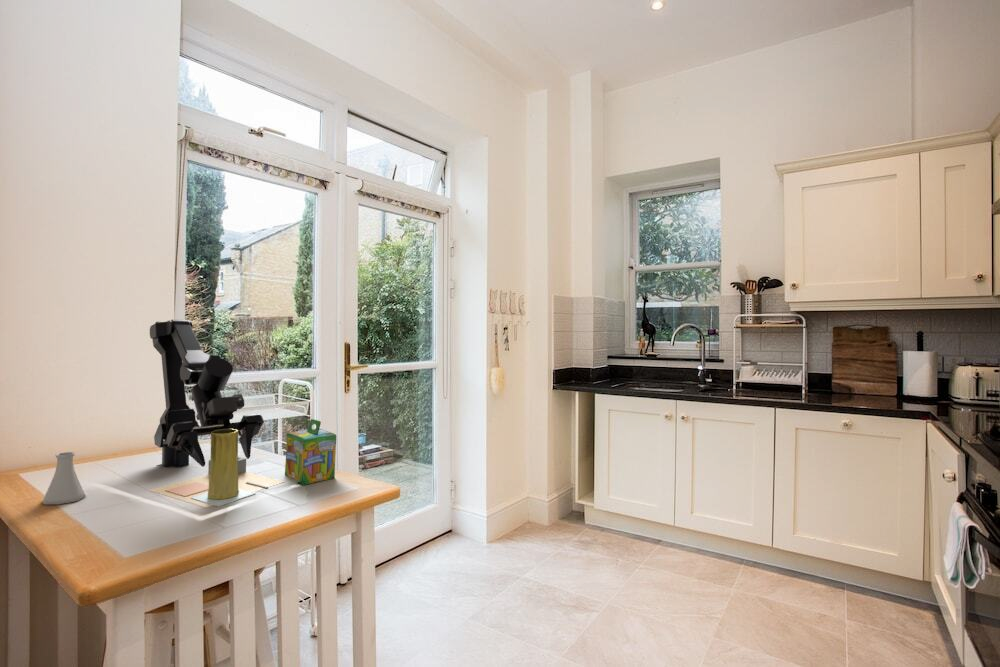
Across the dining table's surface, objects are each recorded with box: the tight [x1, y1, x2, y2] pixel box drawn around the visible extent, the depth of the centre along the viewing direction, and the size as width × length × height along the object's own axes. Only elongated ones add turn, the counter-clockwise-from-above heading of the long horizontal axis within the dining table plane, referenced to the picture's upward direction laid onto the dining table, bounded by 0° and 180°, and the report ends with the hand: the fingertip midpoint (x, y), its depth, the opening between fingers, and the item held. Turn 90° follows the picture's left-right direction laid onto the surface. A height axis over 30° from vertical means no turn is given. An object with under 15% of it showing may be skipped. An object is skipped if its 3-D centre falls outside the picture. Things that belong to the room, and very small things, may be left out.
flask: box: [42, 451, 86, 505], centre depth 109 cm, size 7×7×10 cm
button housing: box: [207, 456, 247, 475], centre depth 129 cm, size 6×6×4 cm
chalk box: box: [284, 418, 337, 486], centre depth 130 cm, size 9×9×15 cm
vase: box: [208, 429, 239, 500], centre depth 113 cm, size 6×6×14 cm
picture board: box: [149, 471, 286, 509], centre depth 119 cm, size 22×20×1 cm
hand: (226, 461), depth 111 cm, fingers open, 9 cm apart
